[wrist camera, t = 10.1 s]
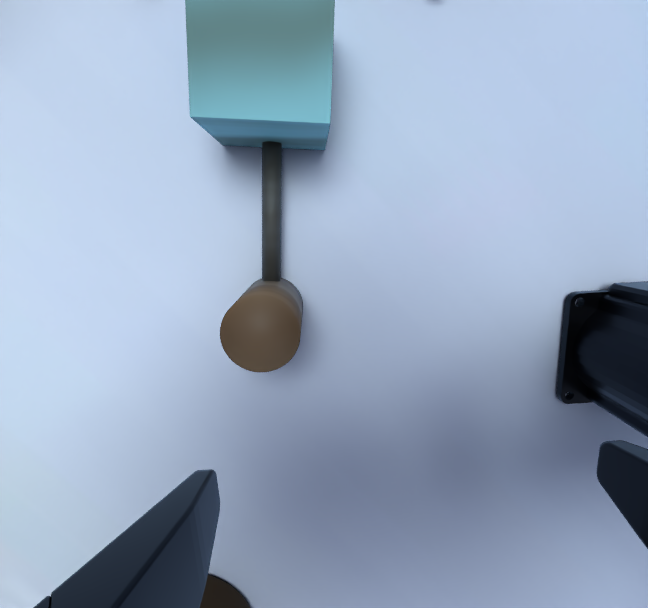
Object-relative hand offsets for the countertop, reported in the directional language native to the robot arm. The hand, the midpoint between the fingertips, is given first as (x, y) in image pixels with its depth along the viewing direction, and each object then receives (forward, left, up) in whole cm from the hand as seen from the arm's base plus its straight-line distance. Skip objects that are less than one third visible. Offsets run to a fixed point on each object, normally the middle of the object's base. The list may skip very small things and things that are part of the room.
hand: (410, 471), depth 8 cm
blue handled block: (+7, +4, -12) cm, 14 cm away
